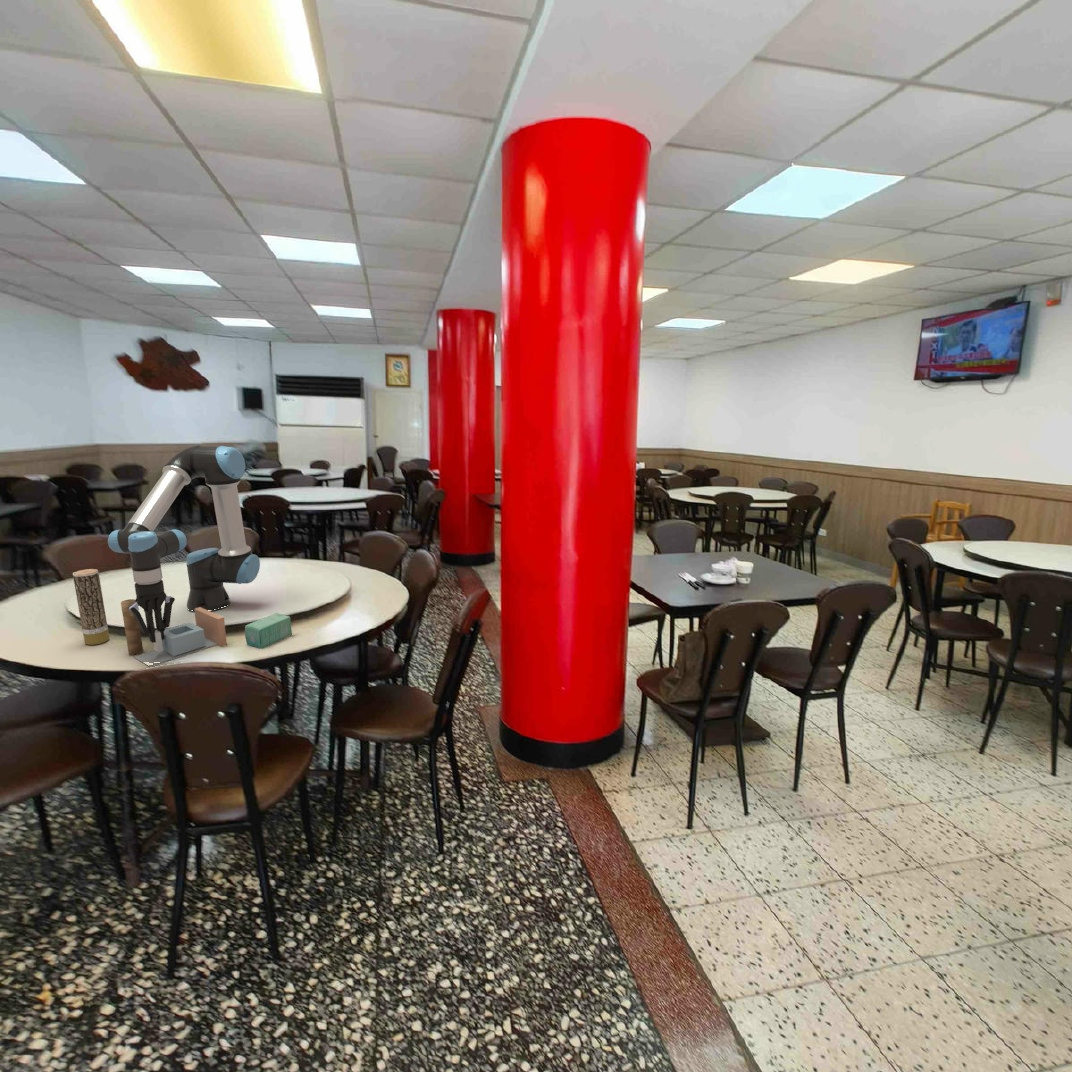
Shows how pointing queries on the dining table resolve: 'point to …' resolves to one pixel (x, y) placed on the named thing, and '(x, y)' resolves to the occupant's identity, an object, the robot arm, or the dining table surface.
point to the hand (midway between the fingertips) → (158, 650)
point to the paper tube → (91, 606)
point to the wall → (211, 626)
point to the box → (268, 630)
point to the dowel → (131, 629)
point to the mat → (165, 656)
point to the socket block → (183, 638)
